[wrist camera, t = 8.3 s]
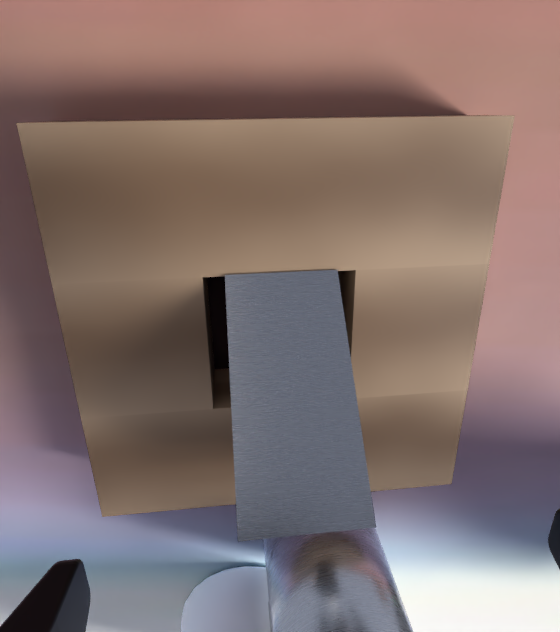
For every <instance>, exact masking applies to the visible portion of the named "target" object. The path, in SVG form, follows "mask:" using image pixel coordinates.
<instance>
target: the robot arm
mask: <svg viewBox="0 0 560 632" xmlns="http://www.w3.org/2000/svg"><path fill="white" fill-rule="evenodd" d="M548 543H549V548H550V551H551V553H552V555H553V557H554V559H555V561H556V563H557V565H558V567H559V569H560V509H558V510H557V511H556V513H555V516H554V520H553V523H552V526H551V530H550V533H549V537H548ZM89 606H90V588H89V584H88V580H87V576H86V573H85V569H84V565H83V562H82V561H81V560H80V559H73V560H63V561H58V562H57V563H55V564H54V565H53V566H52V567H51V568H50V569H49V571H48V572H47V573H46V574H45V575H44V576H43V577H42V579H41V580H40V581H39V582H38V583H37V584H36V586H35V587H34V588H33V589H32V590H31V591H30V593H29V594H28V595H27V596H26V597H25V598H24V600H23V601H22V602H21V603H20V604H19V605H18V607H17V608H16V609H15V610H14V611H13V612H12V613H11V615H10V616H9V617H8V618H7V619H6V620H5V622H4V623H3V624H2V625H1V626H0V632H85V631H86V625H87V619H88V613H89Z"/></svg>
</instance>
